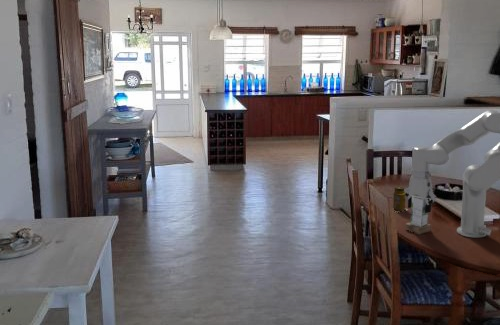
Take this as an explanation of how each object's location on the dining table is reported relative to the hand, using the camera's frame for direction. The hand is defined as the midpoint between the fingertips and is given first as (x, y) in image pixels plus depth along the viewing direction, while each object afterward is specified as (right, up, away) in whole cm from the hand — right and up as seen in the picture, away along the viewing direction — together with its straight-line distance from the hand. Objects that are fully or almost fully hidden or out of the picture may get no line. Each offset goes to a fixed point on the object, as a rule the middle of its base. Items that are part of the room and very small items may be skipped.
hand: (419, 209), depth 235 cm
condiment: (-1, -3, +32) cm, 32 cm away
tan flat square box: (0, -10, +2) cm, 10 cm away
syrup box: (0, -7, +1) cm, 7 cm away
